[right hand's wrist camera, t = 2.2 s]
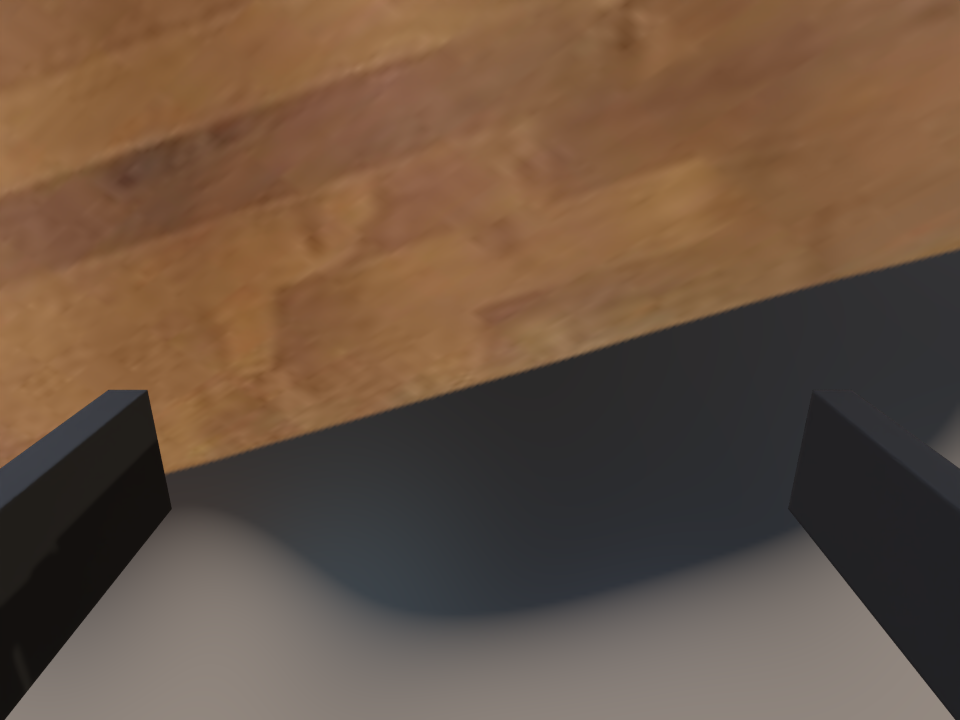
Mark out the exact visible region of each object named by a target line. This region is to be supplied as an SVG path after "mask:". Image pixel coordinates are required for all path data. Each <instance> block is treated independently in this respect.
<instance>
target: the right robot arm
mask: <svg viewBox="0 0 960 720" xmlns="http://www.w3.org/2000/svg"><path fill="white" fill-rule="evenodd" d="M171 509H172V508H171V503H170V498H169V493H168V488H167V483H166V479H165V474H164V469H163V464H162V459H161V454H160V449H159V444H158V440H157V435H156V430H155V425H154V420H153V415H152V410H151V405H150V401H149V396H148V391H147V390H108V391H106V392H105V393H104V394H102V395H101V396H100V397H98V398H97V399H95V400H94V401H93V402H91V403H90V404H89V405H87V406H86V407H84V408H83V409H82V410H80V411H79V412H78V413H76V414H75V415H73V416H72V417H71V418H69V419H68V420H67V421H65V422H64V423H62V424H61V425H60V426H58V427H57V428H56V429H54V430H53V431H51V432H50V433H49V434H47V435H46V436H45V437H43V438H42V439H40V440H39V441H38V442H36V443H35V444H34V445H32V446H31V447H29V448H28V449H27V450H25V451H24V452H23V453H21V454H20V455H18V456H17V457H16V458H14V459H13V460H12V461H10V462H9V463H7V464H6V465H5V466H3V467H2V468H1V469H0V720H5V719H6V717H7V716H8V715H9V714H10V712H11V711H12V710H13V709H14V707H15V706H16V705H17V703H18V702H19V701H20V700H21V698H22V697H23V696H24V695H25V693H26V692H27V691H28V690H29V688H30V687H31V686H32V684H33V683H34V682H35V681H36V679H37V678H38V677H39V676H40V674H41V673H42V672H43V671H44V669H45V668H46V667H47V666H48V664H49V663H50V662H51V661H52V659H53V658H54V657H55V655H56V654H57V653H58V652H59V650H60V649H61V648H62V647H63V645H64V644H65V643H66V642H67V640H68V639H69V638H70V637H71V635H72V634H73V633H74V631H75V630H76V629H77V628H78V626H79V625H80V624H81V623H82V621H83V620H84V619H85V618H86V616H87V615H88V614H89V613H90V611H91V610H92V609H93V607H94V606H95V605H96V604H97V602H98V601H99V600H100V599H101V597H102V596H103V595H104V594H105V592H106V591H107V590H108V589H109V587H110V586H111V585H112V584H113V582H114V581H115V580H116V578H117V577H118V576H119V575H120V573H121V572H122V571H123V570H124V568H125V567H126V566H127V565H128V563H129V562H130V561H131V560H132V558H133V557H134V556H135V555H136V553H137V552H138V551H139V549H140V548H141V547H142V546H143V544H144V543H145V542H146V541H147V539H148V538H149V537H150V536H151V534H152V533H153V532H154V530H155V529H156V528H157V527H158V525H159V524H160V523H161V522H162V520H163V519H164V518H165V517H166V515H167V514H168V513H169V512H170V510H171ZM788 509H789V510H790V512H791V513H792V514H793V515H794V517H795V518H796V519H797V520H798V522H799V523H800V524H801V525H802V527H803V528H804V529H805V530H806V532H807V533H808V534H809V536H810V537H811V538H812V539H813V541H814V542H815V543H816V544H817V546H818V547H819V548H820V549H821V551H822V552H823V553H824V555H825V556H826V557H827V558H828V560H829V561H830V562H831V563H832V565H833V566H834V567H835V568H836V570H837V571H838V572H839V573H840V575H841V576H842V577H843V578H844V580H845V581H846V582H847V584H848V585H849V586H850V587H851V589H852V590H853V591H854V592H855V594H856V595H857V596H858V597H859V599H860V600H861V601H862V602H863V604H864V605H865V606H866V607H867V609H868V610H869V611H870V613H871V614H872V615H873V616H874V618H875V619H876V620H877V621H878V623H879V624H880V625H881V626H882V628H883V629H884V630H885V631H886V633H887V634H888V635H889V637H890V638H891V639H892V640H893V642H894V643H895V644H896V645H897V647H898V648H899V649H900V650H901V652H902V653H903V654H904V655H905V657H906V658H907V659H908V661H909V662H910V663H911V664H912V666H913V667H914V668H915V669H916V671H917V672H918V673H919V674H920V676H921V677H922V678H923V679H924V681H925V682H926V683H927V684H928V686H929V687H930V688H931V690H932V691H933V692H934V693H935V695H936V696H937V697H938V698H939V700H940V701H941V702H942V703H943V705H944V706H945V707H946V709H947V710H948V711H949V712H950V714H951V715H952V716H953V717H954V719H955V720H960V469H959V468H958V467H957V466H955V465H954V464H952V463H951V462H950V461H948V460H947V459H946V458H944V457H943V456H942V455H940V454H939V453H937V452H936V451H935V450H933V449H932V448H931V447H929V446H928V445H926V444H925V443H924V442H922V441H921V440H920V439H918V438H917V437H915V436H914V435H913V434H911V433H910V432H908V431H907V430H906V429H904V428H903V427H902V426H900V425H899V424H898V423H896V422H895V421H893V420H892V419H891V418H889V417H888V416H886V415H885V414H884V413H882V412H881V411H880V410H878V409H877V408H876V407H874V406H873V405H871V404H870V403H869V402H867V401H866V400H864V399H863V398H862V397H860V396H859V395H858V394H856V393H855V392H854V391H852V390H813V391H812V396H811V401H810V405H809V410H808V415H807V420H806V425H805V430H804V435H803V440H802V444H801V449H800V454H799V459H798V464H797V469H796V474H795V479H794V483H793V489H792V493H791V498H790V503H789V508H788Z"/></svg>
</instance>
